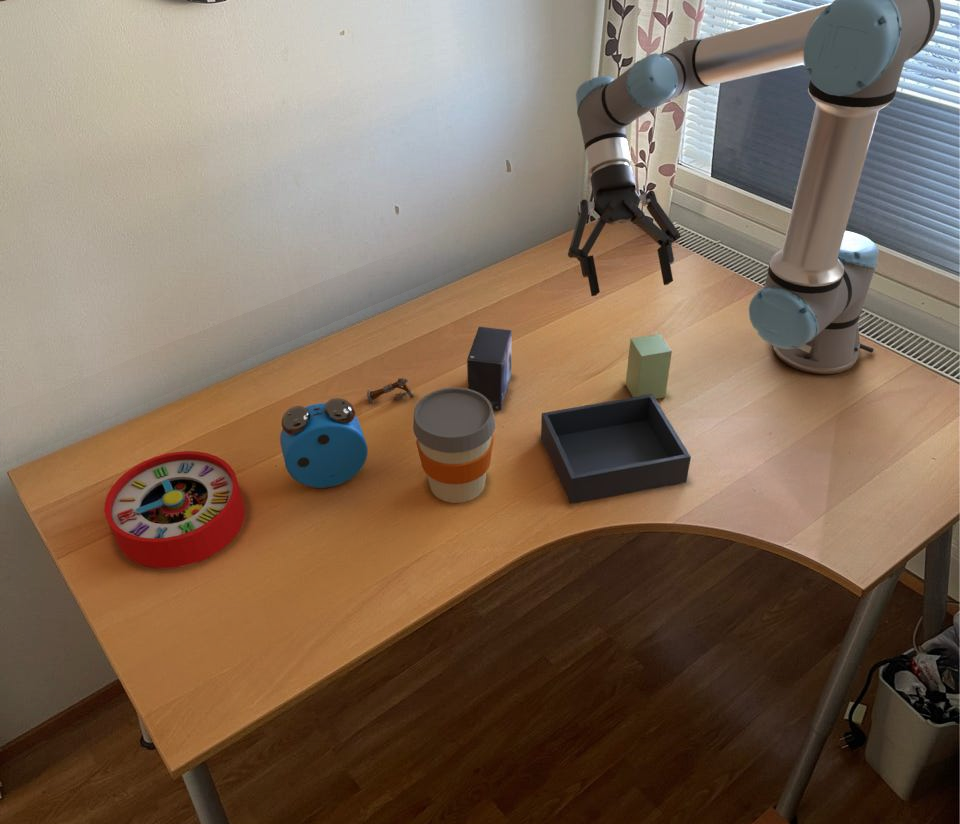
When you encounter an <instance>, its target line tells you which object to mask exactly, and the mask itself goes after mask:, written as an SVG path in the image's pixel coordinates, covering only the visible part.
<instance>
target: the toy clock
mask: <svg viewBox="0 0 960 824" xmlns="http://www.w3.org/2000/svg"><path fill="white" fill-rule="evenodd" d="M103 509H104V511H103V512H104V515H105V516H104V517H105V519H106V522H107V524H108V526H109V528H110V531H111V533H112V535H113V537H114V539H115V542H116V544H117V546H118V548H119V549H120V551H121V553H122V554H123V555H125V557H126V558H127V559H129V560H130V561H132V562H134V563H135V564H138V565H141V566H142V567H147V568H152V569H163V570H164V569H165V570H166V569H176V568H182V567H187V566H191V565H194V564H197V563H200V562H202V561H205V560H207V559H209V558H212V557H213V556H214V555H216V554H217V553H219V552H221V551H222V550H223V549H224V548H226V547H227V546H228V545H229V544H230V543H232V542H233V540H234V539H235V538H236V537H237V535H238V534H239V532H240V531H241V529H242V527H243V525H244V522H245V519H246V504H245V501H244V497H243V493H242V491H241V487H240V484H239V481H238V478H237V474H236V473H235V470H234V469H233V468H232V466H231V465H230V464H229V463H228V462H227V461H225V460H224V459H222V458H220V457H219V456H218V455H214V454H211V453H208V452H203V451H196V450H195V451H193V450H181V451H173V452H168V453H167V452H166V453H164V454H160V455H156V456H154V457H151V458H148V459H146V460H143V461H142V462H140V463H138V464H136V465H135V466H133V467H131V468H130V469H129V470H127V471H125V472H124V473H123V474H122V475H121V476H120V477H119V478H118V479H117V480H116V481H115V482H114V483H113V484H112V486H111V487H110V489H109V491H108V493H107V494H106V498H105V501H104V508H103Z"/></svg>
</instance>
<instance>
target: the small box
mask: <svg viewBox="0 0 960 824" xmlns="http://www.w3.org/2000/svg"><path fill="white" fill-rule="evenodd" d="M512 333H513V330H512V329H503V328H496V327H495V328H494V327H487V326H478V328H477V330H476V334H475V336H474V339H473V342H472V345H471V348H470V350H469V352H468V355H467V359H466V373H467V374H466V375H467V376H466V378H467V389H470V390H474V391H476V392H479V393H481V394H482V395H484V396H485V397H486V398H487V399H488V400H489V401H490V403H491V405H492V409H493V411H502V409H503V405H504V402H505V399H506V395H507V392H508V388H509V385H510V382H511V379H512V354H513V353H512V348H513V347H512V344H513V343H512V341H513V340H512V337H513V334H512Z"/></svg>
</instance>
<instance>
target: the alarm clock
mask: <svg viewBox="0 0 960 824" xmlns="http://www.w3.org/2000/svg"><path fill="white" fill-rule="evenodd" d="M279 442H280V448H281V452H282V457H283V460H284V461H283V462H284V466H285V468H286V471H287V473H288V474H289V475H290V476H291V478H293V479H294V480H295V481H296V482H298V483H299V484H301V485H304V486H307V487H309V488H314V489H315V488H316V489H325V488H333V487H336V486H339V485H342V484H345V483H347V482H348V481H350V480H351V479H353V478H354V477H356V476H357V474H358V473H359V472H361V470H362V469H363V467H364V466H365V464H366V461H367V459H368V451H369V450H368V444H367V442H366V438H365V435H364V432H363V429H362V426H361V423H360V421H359V419H358V417H357V416H356V411H355V408H354V406H353V405H352V404H351V402H349V401H348V400H346V399H344V398H342V397H341V398H340V397H335V398H331V399H329V400H327V401H326V402H325V403H324V402H322V403H314V404H311V405H307V406H302V405H295V406H292V407H290V408H289V409H287V410H286V411H285V412H284V413H283V416H282V418H281V432H280V438H279Z"/></svg>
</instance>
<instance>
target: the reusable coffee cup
mask: <svg viewBox="0 0 960 824" xmlns="http://www.w3.org/2000/svg"><path fill="white" fill-rule="evenodd" d="M412 421H413V422H412V423H413V424H412V426H413V427H412V430H413V435H414V437H415V438H416V443H415V444H416V449H417V453H418V456H419V457H418V458H419V460H420V464H421V467H422V469H423V471H424V473H425V474H426V476H427V477H426V478H427V480H428V483H429V488H430V490H431V492H432V494H433V495H434V496H435V497H436V498H438V499H439V500H441V501H444V502H446V503H452V504H460V503H466V502H469V501H472V500H474V499H475V498H477V497H479V496H480V495H481V494H482V493H483V491H484V489H485V487H486V486H485V485H486V479H487V472H488V470H489V469H490V466H491V462H492V454H493V449H494V440H495V439H494V432H495V429H496V421H495V415H494V410H493V409H492V405H491V403H490V401H489V400H488V399H487V398H486V397H485V396H484V395H482V394H481V393H479V392H476V391H474V390H470V389H468V387H467V388H466V387H452V386H451V387H445V388H439V389H436V390H434V391H431V392H429V393H428V394H426V395H424V396H423V397H422V398H421V399H419V401H418V402H417V403H416V405H415V407H414V409H413V420H412Z"/></svg>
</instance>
